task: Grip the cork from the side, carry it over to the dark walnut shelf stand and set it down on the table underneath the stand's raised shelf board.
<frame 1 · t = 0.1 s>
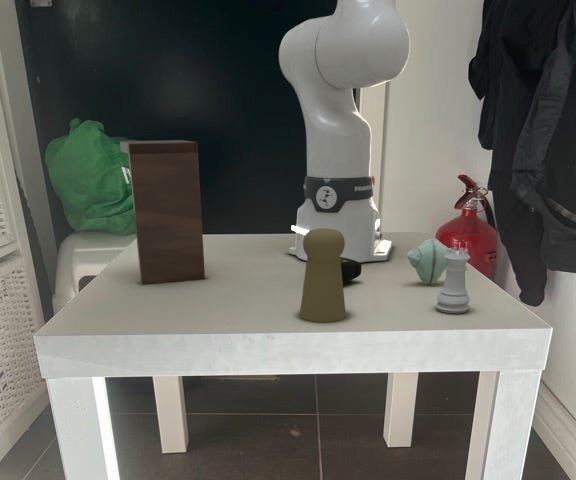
rook chess piece: (452, 311, 86), on the table
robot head: (428, 285, 99), on the table
shelf stand: (165, 271, 108), on the table
tape measure: (333, 282, 101), on the table
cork: (322, 316, 84), on the table
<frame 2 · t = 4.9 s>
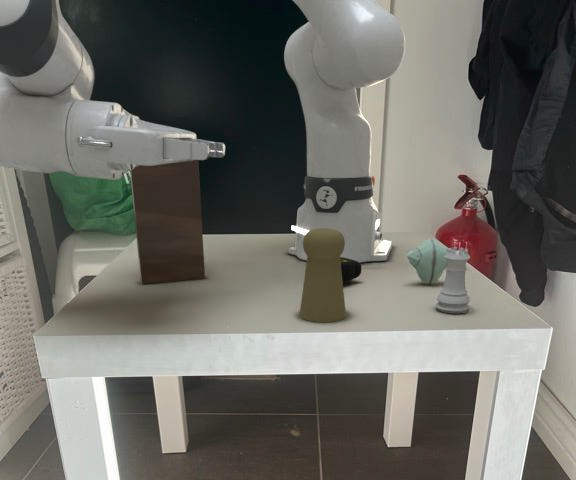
hand: (216, 151, 77), 20 cm above the table, tool horizontal, fingers open, 8 cm apart
nothing on the table moved.
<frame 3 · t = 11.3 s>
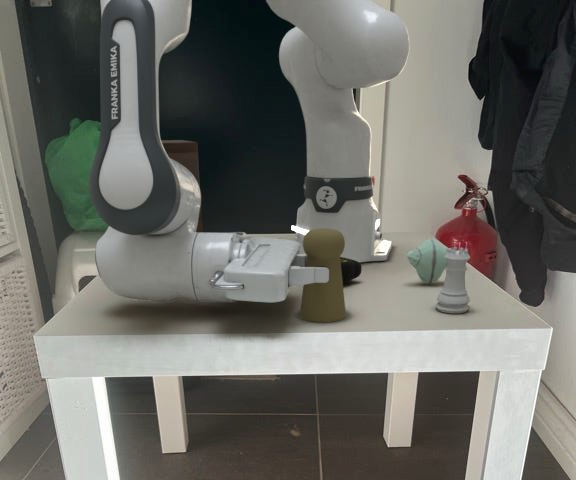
hand: (330, 269, 81), 6 cm above the table, tool horizontal, fingers closed on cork, 4 cm apart
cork: (322, 316, 84), on the table, touching gripper
everything else where it was.
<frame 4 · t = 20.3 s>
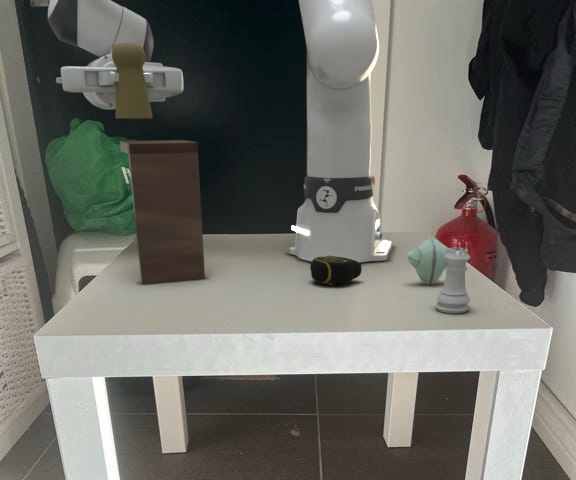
hand: (132, 77, 103), 30 cm above the table, tool horizontal, fingers closed on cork, 4 cm apart
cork: (134, 119, 106), point 24 cm above the table, touching gripper
everything else where it was.
when the fingers open (6 cm above the table, at t = 29.3 s): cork stays where it is, on the table.
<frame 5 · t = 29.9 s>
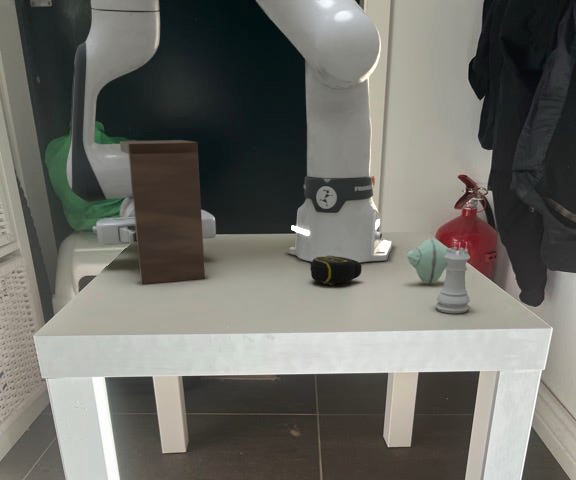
hand: (163, 235, 105), 6 cm above the table, tool horizontal, fingers open, 8 cm apart
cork: (164, 272, 108), on the table
everything else where it was.
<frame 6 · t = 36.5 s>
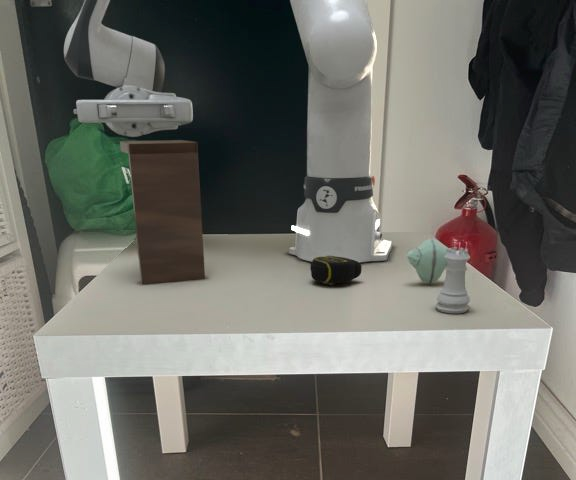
hand: (140, 110, 109), 25 cm above the table, tool horizontal, fingers open, 8 cm apart
nothing on the table moved.
at the end: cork inside the target area on the shelf stand (0.2 cm from its centre), point 0.0 cm above the shelf stand's base; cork tilted 0°; the gripper is holding nothing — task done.
